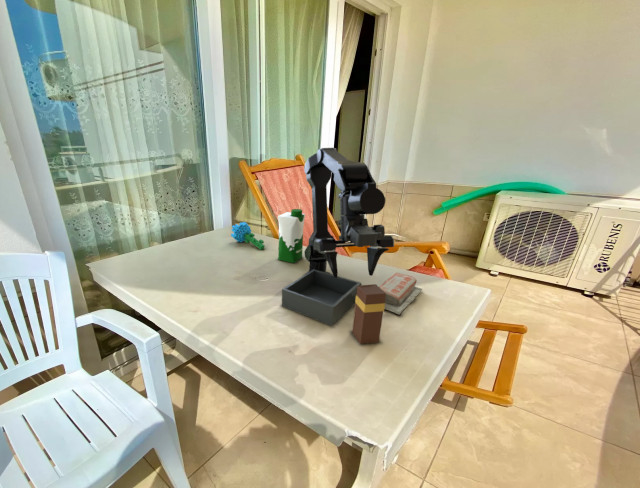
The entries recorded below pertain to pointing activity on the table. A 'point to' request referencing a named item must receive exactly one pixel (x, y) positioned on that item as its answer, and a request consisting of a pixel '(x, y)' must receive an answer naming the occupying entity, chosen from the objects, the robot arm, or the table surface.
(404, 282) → the packaged product
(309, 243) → the robot arm
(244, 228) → the toy flower
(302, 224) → the milk carton
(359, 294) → the chocolate box
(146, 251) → the table surface
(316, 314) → the open storage bin
